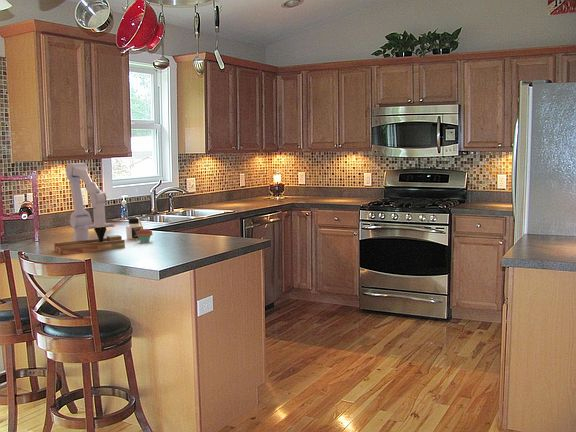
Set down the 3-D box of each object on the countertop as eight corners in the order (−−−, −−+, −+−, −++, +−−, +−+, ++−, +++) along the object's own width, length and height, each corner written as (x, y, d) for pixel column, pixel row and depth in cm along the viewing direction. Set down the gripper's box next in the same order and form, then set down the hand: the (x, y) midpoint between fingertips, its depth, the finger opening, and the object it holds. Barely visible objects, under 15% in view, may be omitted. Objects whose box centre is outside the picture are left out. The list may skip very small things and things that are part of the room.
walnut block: (107, 241, 334) (106, 236, 334) (118, 240, 337) (117, 234, 337) (110, 243, 329) (110, 237, 329) (121, 241, 332) (121, 236, 332)
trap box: (54, 251, 324) (54, 243, 324) (116, 244, 341) (116, 236, 341) (61, 254, 312) (60, 246, 312) (124, 247, 329) (124, 239, 329)
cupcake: (137, 243, 342) (135, 221, 341) (136, 241, 350) (135, 219, 349) (153, 242, 344) (152, 220, 343) (152, 240, 353) (151, 218, 351)
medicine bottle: (132, 239, 356) (130, 218, 354) (126, 238, 361) (125, 217, 360) (143, 238, 360) (142, 217, 359) (138, 237, 366) (136, 216, 364)
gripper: (87, 217, 321) (89, 244, 322) (115, 215, 328) (117, 241, 330) (83, 216, 327) (85, 242, 328) (111, 214, 334) (113, 239, 336)
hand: (101, 241), depth 330 cm, fingers closed
